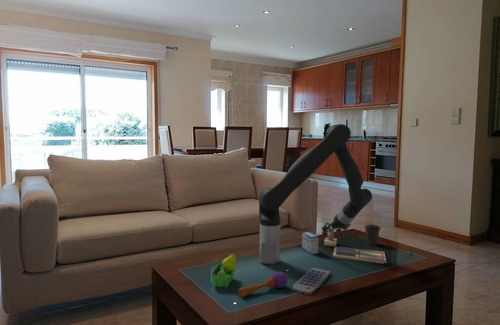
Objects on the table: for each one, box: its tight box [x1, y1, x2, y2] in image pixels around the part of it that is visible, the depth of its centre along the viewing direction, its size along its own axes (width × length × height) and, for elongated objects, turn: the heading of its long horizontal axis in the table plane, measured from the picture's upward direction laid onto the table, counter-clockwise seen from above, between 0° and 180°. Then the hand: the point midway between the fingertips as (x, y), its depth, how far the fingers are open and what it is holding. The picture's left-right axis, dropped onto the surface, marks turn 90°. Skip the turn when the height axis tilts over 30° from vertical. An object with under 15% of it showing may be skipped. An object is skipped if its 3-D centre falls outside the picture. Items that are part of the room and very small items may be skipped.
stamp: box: [323, 227, 338, 248], centre depth 186 cm, size 6×6×8 cm
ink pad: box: [336, 246, 356, 256], centre depth 171 cm, size 9×9×1 cm
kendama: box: [237, 271, 288, 299], centre depth 131 cm, size 6×6×20 cm
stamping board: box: [332, 246, 387, 264], centre depth 170 cm, size 14×24×1 cm, turn 73°
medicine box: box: [301, 231, 319, 255], centre depth 175 cm, size 8×4×9 cm, turn 25°
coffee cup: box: [364, 223, 381, 246], centre depth 188 cm, size 8×8×10 cm
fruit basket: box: [210, 253, 238, 288], centre depth 137 cm, size 11×9×11 cm
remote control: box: [292, 267, 331, 293], centre depth 139 cm, size 8×23×2 cm, turn 150°
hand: (329, 233), depth 186 cm, fingers open, 8 cm apart
